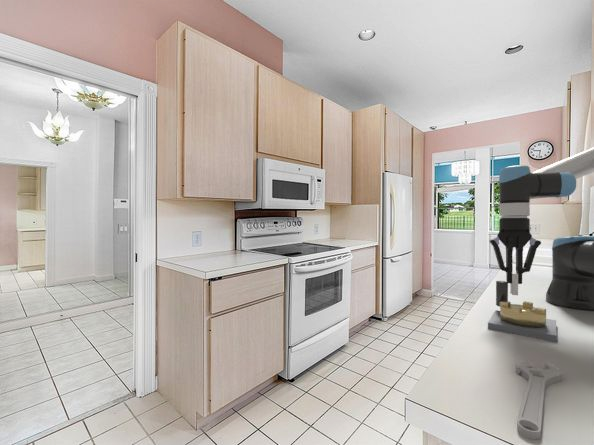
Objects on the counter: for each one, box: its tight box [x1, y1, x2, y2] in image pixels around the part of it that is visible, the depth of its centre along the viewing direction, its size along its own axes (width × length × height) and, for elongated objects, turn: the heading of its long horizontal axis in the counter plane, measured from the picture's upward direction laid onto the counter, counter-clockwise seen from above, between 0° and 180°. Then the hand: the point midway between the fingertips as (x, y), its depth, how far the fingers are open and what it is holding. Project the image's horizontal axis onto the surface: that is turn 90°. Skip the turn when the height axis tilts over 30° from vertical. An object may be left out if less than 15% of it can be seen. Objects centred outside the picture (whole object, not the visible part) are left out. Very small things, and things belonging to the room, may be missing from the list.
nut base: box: [487, 309, 558, 343], centre depth 83 cm, size 19×15×2 cm
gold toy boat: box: [495, 280, 547, 327], centre depth 85 cm, size 18×10×8 cm, turn 170°
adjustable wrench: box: [515, 360, 563, 440], centre depth 50 cm, size 25×6×2 cm, turn 133°
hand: (514, 294), depth 91 cm, fingers closed
